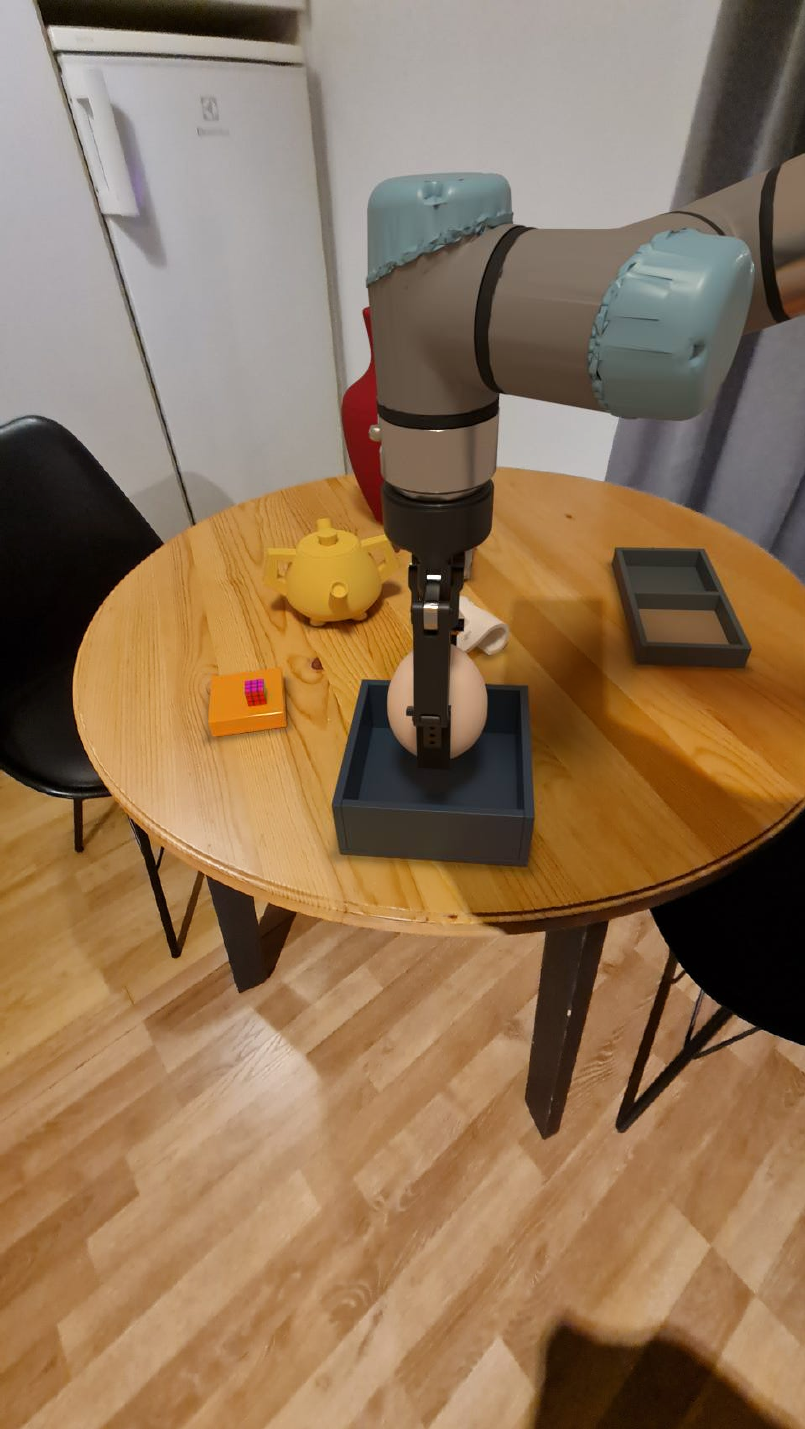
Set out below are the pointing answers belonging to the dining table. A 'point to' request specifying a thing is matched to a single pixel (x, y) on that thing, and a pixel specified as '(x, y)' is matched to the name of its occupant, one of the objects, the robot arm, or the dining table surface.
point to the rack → (677, 609)
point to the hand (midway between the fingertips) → (437, 726)
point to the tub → (438, 788)
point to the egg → (463, 699)
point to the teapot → (331, 573)
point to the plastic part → (480, 629)
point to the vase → (364, 431)
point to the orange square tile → (247, 702)
